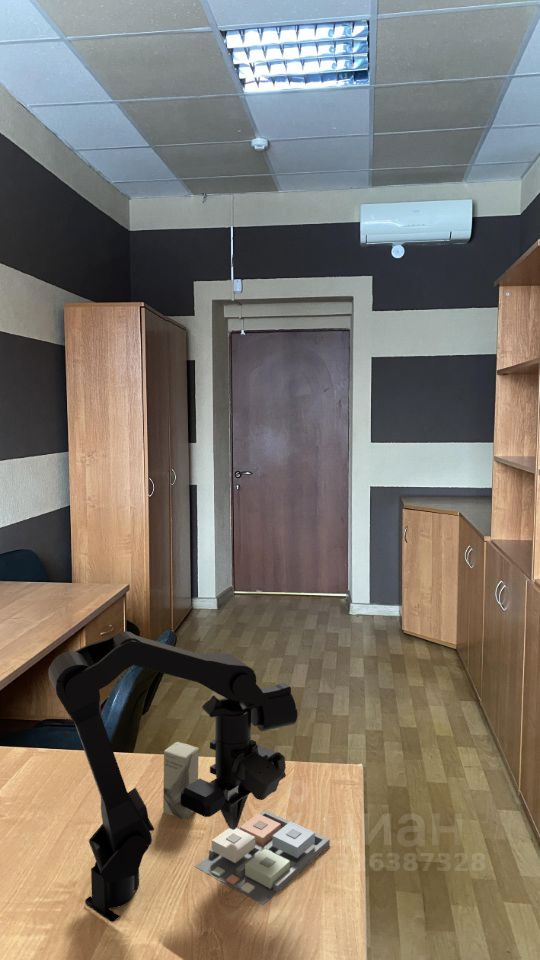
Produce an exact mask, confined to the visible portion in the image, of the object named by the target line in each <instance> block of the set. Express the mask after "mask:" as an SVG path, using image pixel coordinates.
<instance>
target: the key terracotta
mask: <svg viewBox="0 0 540 960" xmlns="http://www.w3.org/2000/svg"><path fill="white" fill-rule="evenodd" d="M239 828H240V830H242V831H244V832H246V833H248V834H250V835H252V836H254V837H255V843H256V844H258V845H260V846H262V847H264V846H265V845H266V844H268V843H269V842H270V841H271V840H272V836H273V835H274V834H275V833H277V832H278V831H279V830H280V829H281V824H280V823H278V822H276V821H274V820H271V819H269V818H267V817H265V816H263V815H260V814H259V813H257V814H255V815H254V816H252V817H251V818H250V819H248V820H247V821H245V822H244V823H243V824H241V825H240V826H239Z"/></svg>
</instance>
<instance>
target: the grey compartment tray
mask: <svg viewBox="0 0 540 960" xmlns="http://www.w3.org/2000/svg"><path fill="white" fill-rule="evenodd" d="M258 814H260V815H263V816H265V817H267V818H269V819H271V820H274V821H276V822H278V823H280V824H281V829H282V828H283V827H284V826H285V825H287V824H288V823H289V822H291V821H290V820H288V819H285V818H284V817H281V816H279V815H276V814H274V813H272V812H270V811H268V810H266V809H263V810H262V811H260V812H259V813H258ZM238 829H240V827H239V828H238ZM330 841H331V840H330V838H328V837H326V836H324V835H322V834H319V833H317V832H315V843H314V844H313V845H312V846H311V847H309V848H308V849H307V850H306V851H305V852H304V853H303V854H301V855H300V856H299V857H298V858H296V857H294V856H292V855H290V854H288V853H286V852H284V851H281V850H279V849H277V848H275V847H273V846H272V840H271V841H270V842H269V843H268V844H266V845H265V846H264V847H262V846H260V845H258V844H256V843H255V848H254V849H253V850H251V851H250V852H249V853H247V854H246V855H245V856H244V857H242V858H241V859H240V860H239V861H237V862H236V863H234V862H232V861H231V860H229V859H227V858H225V857H223V856H221V855H219V854H217V853H215V852H213V851H212V847H211V848H210V849H208V856H207V857H205V858H204V859H203V860H201V861H200V862H199V863H197V864H196V865H195V866H194V868H195V869H198V870H199V871H201V872H203V873H205V874H207V875H208V876H210V877H212V878H214V879H216V880H218V881H220V882H221V883H223V884H225V885H227V886H229V887H230V888H232V889H234V890H236V891H237V892H239V893H241V894H243V895H245V896H246V897H248V898H250V899H251V900H253V901H255V902H257V903H259V904H261V905H262V906H264V905H265V904H266V903H268V901H270V899H272V898H273V897H274V896H275V895H276V894H277V893H278V892H280V891H281V890H282V889H283V888H284V887H285V886H286V885H287V884H288V883H289V882H290V881H291V880H293V878H295V877H296V876H297V875H298V874H300V872H302V871H303V870H304V869H305V868H306V867H307V866H308V865H309V864H310V863H311V862H313V861H314V860H315V859H316V858H317V857H318V856H319V855H320V854H322V853H323V852H324V851H326V849H327V848H328V847H330V844H331V843H330ZM264 849H267V850H269V851H271V852H273V853H275V854H277V855H279V856H281V857H283V858H285V859H287V860H289V861H290V869H289V870H288V871H287V872H286V873H285V874H284V875H282V876H281V877H280V878H279V879H278V880H277V881H276V882H275V883H273V887H272V888H271V889H270V888H268V887H266V886H264V885H262V884H260V883H259V882H257V881H255V880H253V879H251V878H249V877H247V876H245V864H246V863H248V862H249V861H250V860H251V859H253V858H254V857H255V856H256V855H258V854H259V853H260V852H261V851H263V850H264Z"/></svg>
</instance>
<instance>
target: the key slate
mask: <svg viewBox="0 0 540 960" xmlns="http://www.w3.org/2000/svg"><path fill="white" fill-rule="evenodd" d="M315 833H316V832H315V831H312V830H310V829H308V828H306V827H303V826H301V825H299V824H297V823H294V822H292V821H290V822H289V823H288V824H287V825H285V826H284V827H283V828H282V829H280V830H279V831H278V832H277V833H275V834H274V835H273V836H272V846H273V847H275V848H277V849H279V850H281V851H284V852H286V853H288V854H290V855H292V856H294V857H296V858H298V857H299V856H300V855H301V854H303V853H304V852H305V851H306V850H307V849H308V848H309V847H311V846H312V845H313V844H314V843H315Z"/></svg>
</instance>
